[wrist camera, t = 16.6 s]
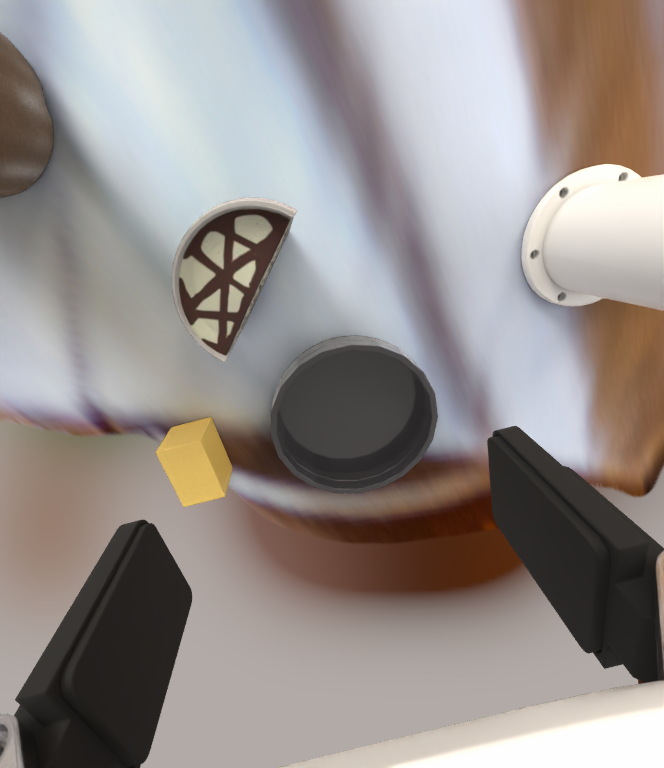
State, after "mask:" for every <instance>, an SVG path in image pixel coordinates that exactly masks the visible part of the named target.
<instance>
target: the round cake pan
mask: <svg viewBox="0 0 664 768" xmlns="http://www.w3.org/2000/svg"><path fill="white" fill-rule="evenodd" d="M437 418H438V413H437V406H436V398H435V393H434V391H433V389H432V387H431V385H430V383H429V382H428V380H427V378H426V376H425V374H424V373H423V371H422V370H421V369H420V368H419V367H418V366H417V365H416V364H415V362H413V361H412V360H411V359H410V358H409V357H408V356H407V355H406V354H404V353H403V352H402V351H401V350H400V349H398V348H397V347H395V346H393V345H391V344H389V343H387V342H385V341H382V340H379V339H376V338H372V337H367V336H342V337H337V338H332V339H329V340H326V341H323V342H321V343H319V344H317V345H314V346H312V347H311V348H309V349H308V350H306V351H305V352H303V353H302V354H301V355H300V356H298V357H297V358H296V359H295V360H294V361H293V362H292V363H291V364H290V366H289V367H288V368H287V369H286V371H285V372H284V374H283V375H282V377H281V379H280V381H279V383H278V386H277V389H276V392H275V394H274V397H273V402H272V409H271V437H272V440H273V443H274V446H275V449H276V451H277V454H278V457H279V458H280V459H281V460H282V462H283V463H284V464H285V465H286V467H287V468H288V469H289V470H290V471H291V473H292V474H293V475H295V476H296V477H298V478H300V479H301V480H303V481H304V482H306V483H308V484H309V485H311V486H313V487H316V488H319V489H323V490H326V491H330V492H333V493H362V492H366V491H370V490H374V489H378V488H382V487H384V486H386V485H388V484H390V483H391V482H393V481H395V480H397V479H399V478H401V477H402V476H404V475H405V474H406V473H407V472H408V471H409V470H410V469H412V468H413V467H414V466H415V465H416V464H417V463H418V462H419V461H420V460H421V459H422V457H423V456H424V454H425V452H426V450H427V449H428V447H429V445H430V443H431V442H432V440H433V437H434V432H435V427H436V423H437Z"/></svg>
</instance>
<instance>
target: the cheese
mask: <svg viewBox="0 0 664 768" xmlns="http://www.w3.org/2000/svg"><path fill="white" fill-rule="evenodd" d="M156 455H157V456H158V458H159V460H160V462H161V464H162V466H163V468H164V470H165V472H166V474H167V476H168V478H169V480H170V482H171V484H172V486H173V488H174V489H175V491H176V493H177V495H178V497H179V499H180V501H181V503H182V505H183V507H186V506H190V505H195V504H198V503H202V502H206V501H210V500H214V499H218V498H222V497H225V495H226V492H227V488H228V484H229V481H230V477H231V473H232V469H233V467H232V465H231V463H230V460H229V458H228V456H227V453H226V451H225V448H224V446H223V444H222V441H221V439H220V437H219V434H218V432H217V429H216V427H215V425H214V422H213V420H212V418H211V417H209V418H205V419H201V420H197V421H193V422H189V423H186V424H182V425H178V426H174V427H171V429H170V430H169V432H168V433H167V435H166V437H165V438H164V440H163V441H162V443H161V444H160V446H159V448H158V449H157V451H156Z"/></svg>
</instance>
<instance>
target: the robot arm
mask: <svg viewBox="0 0 664 768" xmlns="http://www.w3.org/2000/svg"><path fill="white" fill-rule="evenodd" d="M530 255H531V256H530ZM521 260H522V266H523V272H524V274H525V277H526V279H527V282H528V283H529V285H530V286H531V288H532V289H533V291H534V292H536V293H537V294H538V295H539V296H540V297H541V298H543V299H545V300H547V301H549V302H551V303H554V304H558V305H562V306H569V307H573V306H583V305H587V304H591V303H594V302H596V301H599V300H601V299H603V298H606V299H611V300H616V301H620V302H625V303H630V304H634V305H639V306H644V307H648V308H653V309H657V310H662V311H664V174H663V175H657V176H651V177H644V178H641V177H640V176H639V175H638V174H636V173H635V172H633V171H632V170H631V169H628V168H625V167H623V166H620V165H610V164H605V165H598V166H592V167H589V168H585V169H581V170H579V171H577V172H575V173H573V174H570V175H568V176H567V177H565V178H564V179H563V180H561V181H560V182H558V183H557V184H556V185H555V186H554V187H553V188H552V189H551V190H550V191H548V192H547V193H546V194H545V196H544V197H543V198H542V200H541V201H540V202H539V204H538V205H537V206H536V208H535V210H534V212H533V214H532V215H531V217H530V219H529V221H528V224H527V227H526V230H525V233H524V237H523V242H522V254H521ZM488 456H489V470H490V483H491V497H492V510H493V516H494V519H495V522H496V524H497V526H498V527H499V529H500V530H501V532H502V533H503V534H504V536H505V537H506V539H507V540H508V542H509V543H510V545H511V546H512V548H513V549H514V551H515V552H516V553H517V555H518V556H519V558H520V559H521V561H522V562H523V563H524V565H525V567H526V568H527V569H528V570H529V572H530V574H531V575H532V577H533V578H534V579H535V581H536V583H537V584H538V586H539V587H540V588H541V590H542V591H543V593H544V594H545V596H546V597H547V599H548V600H549V601H550V603H551V605H552V606H553V607H554V609H555V610H556V612H557V613H558V615H559V616H560V617H561V619H562V621H563V622H564V623H565V625H566V626H567V628H568V629H569V631H570V632H571V634H572V635H573V637H574V638H575V640H576V641H577V642H578V644H579V645H580V647H581V648H582V649H583V650H584V651H585V652H586V653H592V652H593V653H594V654H595V656H596V657H597V659H598V660H599V661H600V663H601V665H602V666H603V667H604V668H609V667H613V666H617V665H622V664H623V665H624V666H625V667H626V668H627V670H628V671H629V673H630V674H631V675H632V676H633V677H634V678H636V679H638V684H635V685H629V686H622V687H616V688H611V689H607V690H602V691H597V692H593V693H588V694H583V695H579V696H574V697H570V698H566V699H561V700H556V701H552V702H547V703H542V704H538V705H533V706H529V707H524V708H520V709H516V710H512V711H508V712H504V713H500V714H495V715H491V716H487V717H483V718H479V719H475V720H471V721H466V722H462V723H458V724H454V725H450V726H445V727H441V728H437V729H433V730H429V731H424V732H420V733H416V734H412V735H408V736H404V737H400V738H396V739H391V740H387V741H384V742H379V743H375V744H371V745H367V746H364V747H359V748H355V749H351V750H347V751H342V752H339V753H334V754H330V755H326V756H322V757H318V758H314V759H311V760H306V761H302V762H298V763H294V764H290V765H286V766H282V767H278V768H664V548H663V547H662V546H660V545H659V544H658V543H657V542H656V541H655V540H654V539H652V538H651V537H650V536H649V535H648V534H647V533H646V532H644V531H643V530H642V529H641V528H640V527H639V526H637V525H636V524H635V523H634V522H633V521H632V520H630V519H629V518H628V517H627V516H626V515H625V514H623V513H622V512H621V511H620V510H619V509H618V508H616V507H615V506H614V505H613V504H612V503H611V502H609V501H608V500H607V499H606V498H605V497H604V496H603V495H601V494H600V493H599V492H598V491H597V490H596V489H594V488H593V487H592V486H591V485H590V484H589V483H587V482H586V481H585V480H584V479H583V478H582V477H580V476H579V475H578V474H577V473H576V472H575V471H573V470H572V469H570V468H569V467H565V466H562V465H561V464H560V463H559V462H558V461H556V460H555V459H554V458H553V457H552V456H551V455H550V454H548V453H547V452H546V451H545V450H544V449H543V448H542V447H541V446H539V445H538V444H537V443H536V442H535V441H534V440H533V439H531V438H530V437H529V436H528V435H527V434H526V433H525V432H523V431H522V430H521V429H520V428H519V427H517V426H512V427H508V428H504V429H500V430H496V431H494V432H493V437H491V438H488ZM191 603H192V592H191V588H190V586H189V585H188V583H187V581H186V579H185V578H184V576H183V574H182V572H181V571H180V569H179V567H178V565H177V564H176V562H175V560H174V558H173V556H172V555H171V553H170V552H169V550H168V548H167V546H166V544H165V542H164V541H163V539H162V537H161V535H160V534H159V532H158V530H157V528H156V527H155V525H154V524H152V523H150V524H149V523H148V522H147V521H146V520H139V521H135V522H131V523H127V524H124V525H121V526H120V527H119V528H118V529H117V531H116V532H115V534H114V536H113V537H112V539H111V541H110V542H109V544H108V546H107V547H106V549H105V551H104V553H103V554H102V556H101V557H100V559H99V561H98V562H97V564H96V566H95V567H94V569H93V571H92V572H91V574H90V576H89V577H88V579H87V581H86V583H85V584H84V586H83V587H82V589H81V591H80V592H79V594H78V596H77V597H76V599H75V601H74V603H73V604H72V606H71V607H70V609H69V611H68V612H67V614H66V616H65V617H64V619H63V621H62V622H61V624H60V626H59V627H58V629H57V631H56V633H55V634H54V636H53V637H52V639H51V641H50V642H49V644H48V646H47V647H46V649H45V651H44V652H43V654H42V656H41V657H40V659H39V661H38V662H37V664H36V666H35V667H34V669H33V671H32V673H31V674H30V676H29V677H28V679H27V681H26V683H25V684H24V686H23V687H22V689H21V691H20V692H19V694H18V696H17V698H16V699H15V700H16V701H17V702H18V703H19V704H20V706H19V708H18V710H17V712H16V713H15V715H14V716H12V715H10V714H8V713H7V714H1V715H0V768H140V765H141V764H142V763H144V762H145V760H146V759H147V757H148V755H149V752H150V749H151V745H152V742H153V738H154V735H155V731H156V728H157V724H158V721H159V717H160V713H161V710H162V706H163V703H164V699H165V695H166V692H167V689H168V685H169V681H170V678H171V674H172V671H173V667H174V663H175V660H176V657H177V653H178V649H179V646H180V642H181V639H182V635H183V632H184V628H185V625H186V621H187V617H188V614H189V610H190V607H191Z"/></svg>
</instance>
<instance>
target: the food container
mask: <svg viewBox="0 0 664 768" xmlns="http://www.w3.org/2000/svg"><path fill="white" fill-rule="evenodd" d="M296 212H297V210H296V209H294V208H292V207H290V206H288V205H286V204H283V203H280V202H276V201H273V200H269V199H261V198H241V199H236V200H232V201H227V202H225V203H223V204H220V205H218V206H215V207H214V208H212V209H211V210H209V211H207V212H206V213H204V214H203V215H202V216H201V217H200V218H199V219H198V220H197V221H195V222H194V223H193V224H192V226H191V227H190V229H189V230H188V231H187V233H186V234H185V235H184V237H183V239H182V241H181V243H180V245H179V247H178V249H177V252H176V255H175V259H174V262H173V269H172V277H171V278H172V293H173V298H174V302H175V306H176V309H177V311H178V314H179V317H180V319H181V320H182V322H183V324H184V326H185V328H186V329H187V331H188V332H189V333H190V335H191V336H192V337H193V339H194V340H195V341H196V342H197V343H198V344H199V345H200V346H201V347H202V348H203V349H204V350H206V351H207V352H208V353H210V354H211V355H212V356H214V357H215V358H217V359H219V360H221V361H223V362H225V361H226V360H227V357H228V355H229V353H230V351H231V350H232V348H233V346H234V344H235V342H236V340H237V338H238V336H239V334H240V333H241V331H242V329H243V327H244V325H245V323H246V321H247V319H248V317H249V315H250V313H251V311H252V308H253V306H254V304H255V302H256V300H257V298H258V296H259V294H260V292H261V289H262V287H263V285H264V283H265V281H266V279H267V277H268V275H269V273H270V270H271V268H272V266H273V264H274V262H275V260H276V258H277V256H278V254H279V252H280V249H281V247H282V245H283V243H284V241H285V239H286V237H287V235H288V233H289V230H290V227H291V224H292V220H293V217H294V215H295V213H296Z"/></svg>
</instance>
